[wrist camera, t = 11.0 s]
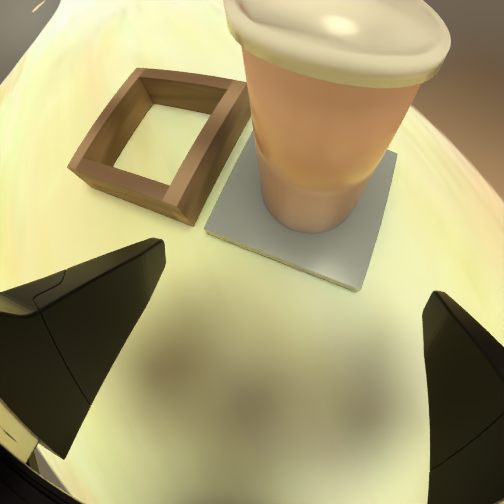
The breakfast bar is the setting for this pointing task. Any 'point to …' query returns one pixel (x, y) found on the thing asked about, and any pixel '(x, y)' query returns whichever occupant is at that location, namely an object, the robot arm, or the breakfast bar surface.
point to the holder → (198, 158)
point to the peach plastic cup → (330, 94)
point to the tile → (296, 243)
